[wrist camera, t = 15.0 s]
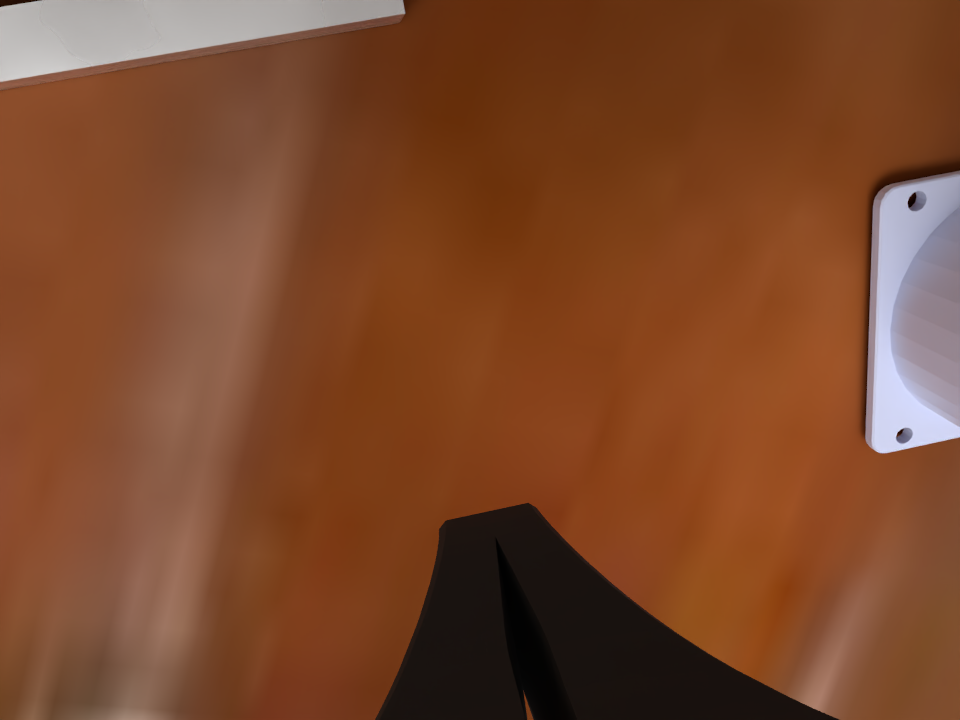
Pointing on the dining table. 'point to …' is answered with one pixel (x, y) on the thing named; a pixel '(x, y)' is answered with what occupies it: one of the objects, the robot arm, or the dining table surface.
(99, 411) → the dining table surface
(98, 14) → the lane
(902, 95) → the dining table surface
